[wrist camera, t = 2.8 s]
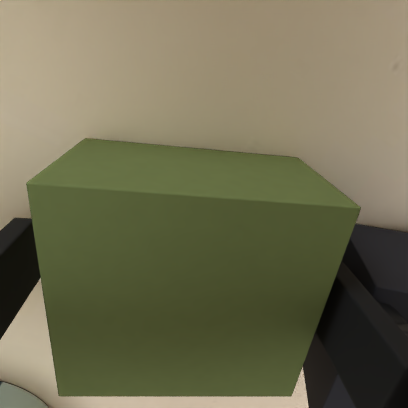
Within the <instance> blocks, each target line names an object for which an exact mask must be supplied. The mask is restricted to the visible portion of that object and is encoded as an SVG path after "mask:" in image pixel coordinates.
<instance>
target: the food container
mask: <svg viewBox="0 0 408 408" xmlns="http://www.w3.org/2000/svg"><path fill="white" fill-rule="evenodd" d="M0 408H48V406H47V405H46V404H45V403H44V402H42V401H41V400H40V399H39V398H37V397H36V396H34V395H33V394H31V393H29V392H27V391H26V390H23V389H21V388H19V387H17V386H14V385H11V384H8V383H5V382H1V381H0Z"/></svg>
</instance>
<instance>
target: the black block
mask: <svg viewBox="0 0 408 408" xmlns="http://www.w3.org/2000/svg"><path fill="white" fill-rule="evenodd" d="M342 261H343V263H344V264H345V265H346V266H347V267H348V268H349V270H350V271H351V272H352V273H353V274H354V275H355V277H356V278H357V279H358V280H359V281H360V282H361V283H362V285H363V286H364V287H365V288H366V289H367V290H368V292H369V293H370V294H371V295H372V296H373V297H374V299H375V300H376V301H377V302H379V303H384V304H389V305H390V306H392V307H393V308H395V309H396V310H397V311H398V312H399V314H400V315H401V316H402V317H403V318H404V319H405V320H406V321H407V324H408V233H406V232H400V231H394V230H388V229H383V228H377V227H371V226H365V225H359V224H355V226H354V228H353V231H352V234H351V236H350V239H349V242H348V245H347V247H346V250H345V253H344V255H343V258H342ZM303 370H304V377H305V384H306V391H307V398H308V405H309V408H356V407H355V405H354V404H353V402H352V400H351V398H350V396H349V394H348V392H347V390H346V388H345V386H344V385H343V383H342V381H341V379H340V377H339V375H338V373H337V371H336V369H335V368H334V366H333V364H332V362H331V360H330V358H329V356H328V354H327V352H326V351H325V349H324V347H323V345H322V343H321V341H320V339H319V337H318V335H317V334H316V332H315V334H314V337H313V339H312V342H311V345H310V347H309V350H308V353H307V356H306V358H305V361H304V364H303Z"/></svg>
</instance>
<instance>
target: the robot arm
mask: <svg viewBox="0 0 408 408" xmlns="http://www.w3.org/2000/svg"><path fill="white" fill-rule="evenodd" d="M40 277H41V276H40V270H39V263H38V257H37V250H36V243H35V237H34V230H33V224H32V219H27V218H14V219H13V220H12V221H11V222H10V223H8V224H7V225H6V226H5V227H4V228H3V229H2V230H1V231H0V339H1V338H2V336H3V335H4V333H5V332H6V330H7V328H8V327H9V325H10V324H11V322H12V321H13V319H14V318H15V316H16V315H17V313H18V311H19V310H20V308H21V307H22V305H23V304H24V302H25V301H26V299H27V298H28V296H29V294H30V293H31V291H32V290H33V288H34V287H35V285H36V284H37V282H38V281H39V279H40ZM315 332H316V334H317V335H318V337H319V339H320V341H321V343H322V345H323V347H324V349H325V351H326V352H327V354H328V356H329V358H330V360H331V362H332V364H333V366H334V368H335V369H336V371H337V373H338V375H339V377H340V379H341V381H342V383H343V385H344V386H345V388H346V390H347V392H348V394H349V396H350V398H351V400H352V402H353V404H354V405H355V407H356V408H408V324H407V321H406V320H405V319H404V318H403V317H402V316H401V315H400V314H399V312H398V311H397V310H396V309H395V308H393V307H392V306H390V305H389V304H384V303H379V302H377V301H376V300H375V299H374V297H373V296H372V295H371V294H370V293H369V292H368V290H367V289H366V288H365V287H364V286H363V285H362V283H361V282H360V281H359V280H358V279H357V278H356V277H355V275H354V274H353V273H352V272H351V271H350V270H349V268H348V267H347V266H346V265H345V264H344V263H343V261H341V264H340V266H339V269H338V272H337V274H336V277H335V280H334V282H333V285H332V288H331V291H330V293H329V296H328V299H327V301H326V304H325V307H324V310H323V312H322V315H321V318H320V320H319V323H318V326H317V328H316V331H315Z"/></svg>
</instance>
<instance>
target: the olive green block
mask: <svg viewBox="0 0 408 408" xmlns="http://www.w3.org/2000/svg"><path fill="white" fill-rule="evenodd" d="M27 191H28V197H29V204H30V211H31V217H32V224H33V230H34V237H35V243H36V250H37V257H38V263H39V270H40V276H41V283H42V289H43V296H44V303H45V309H46V316H47V322H48V329H49V335H50V342H51V348H52V355H53V362H54V368H55V375H56V381H57V388H58V394H59V396H292V393H293V391H294V388H295V385H296V383H297V380H298V377H299V374H300V372H301V369H302V366H303V364H304V361H305V358H306V356H307V353H308V350H309V347H310V345H311V342H312V339H313V337H314V334H315V331H316V328H317V326H318V323H319V320H320V318H321V315H322V312H323V310H324V307H325V304H326V301H327V299H328V296H329V293H330V291H331V288H332V285H333V282H334V280H335V277H336V274H337V272H338V269H339V266H340V264H341V261H342V258H343V255H344V253H345V250H346V247H347V245H348V242H349V239H350V236H351V234H352V231H353V228H354V226H355V223H356V220H357V217H358V215H359V212H360V209H361V207H360V206H358V205H357V204H356V203H354V202H353V201H352V200H351V199H349V198H348V197H347V196H346V195H344V194H343V193H342V192H341V191H339V190H338V189H337V188H336V187H334V186H333V185H332V184H331V183H329V182H328V181H327V180H326V179H324V178H323V177H322V176H321V175H319V174H318V173H317V172H316V171H314V170H313V169H312V168H311V167H309V166H308V165H307V164H306V163H304V162H303V161H302V160H301V159H299V158H296V157H285V156H274V155H263V154H252V153H241V152H230V151H219V150H208V149H197V148H186V147H175V146H164V145H153V144H142V143H131V142H120V141H109V140H98V139H87V138H85V139H84V140H82V141H81V142H80V143H78V144H77V145H76V146H74V147H73V148H72V149H71V150H69V151H68V152H67V153H65V154H64V155H63V156H61V157H60V158H59V159H57V160H56V161H55V162H53V163H52V164H51V165H49V166H48V167H47V168H45V169H44V170H43V171H41V172H40V173H39V174H38V175H36V176H35V177H34V178H32V179H31V180H30V181H28V182H27Z"/></svg>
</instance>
